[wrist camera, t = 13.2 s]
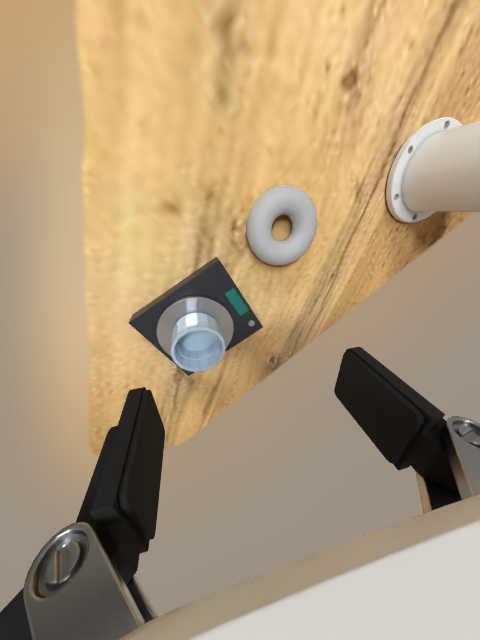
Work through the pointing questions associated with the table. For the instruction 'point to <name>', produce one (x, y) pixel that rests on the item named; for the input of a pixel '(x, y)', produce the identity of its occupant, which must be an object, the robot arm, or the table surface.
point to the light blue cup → (197, 342)
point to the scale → (204, 283)
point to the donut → (263, 216)
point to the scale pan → (188, 307)
